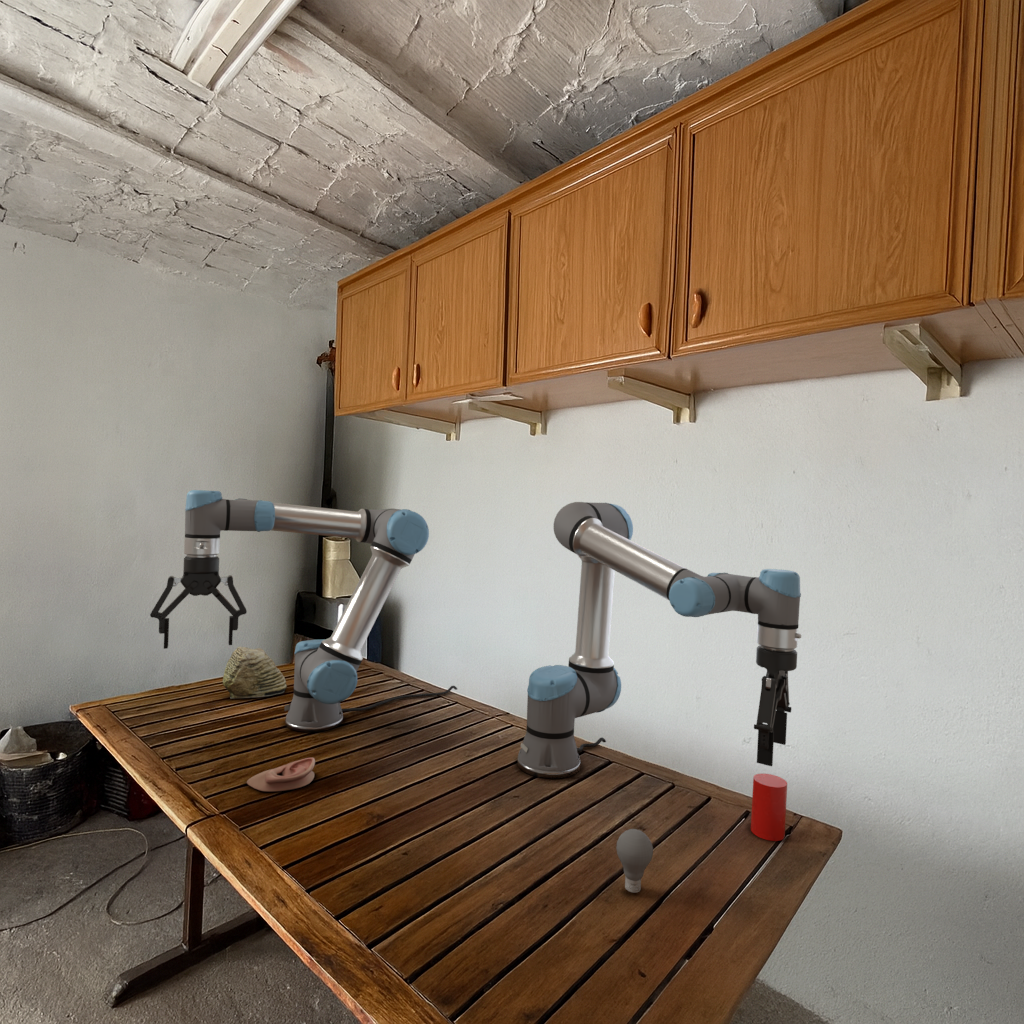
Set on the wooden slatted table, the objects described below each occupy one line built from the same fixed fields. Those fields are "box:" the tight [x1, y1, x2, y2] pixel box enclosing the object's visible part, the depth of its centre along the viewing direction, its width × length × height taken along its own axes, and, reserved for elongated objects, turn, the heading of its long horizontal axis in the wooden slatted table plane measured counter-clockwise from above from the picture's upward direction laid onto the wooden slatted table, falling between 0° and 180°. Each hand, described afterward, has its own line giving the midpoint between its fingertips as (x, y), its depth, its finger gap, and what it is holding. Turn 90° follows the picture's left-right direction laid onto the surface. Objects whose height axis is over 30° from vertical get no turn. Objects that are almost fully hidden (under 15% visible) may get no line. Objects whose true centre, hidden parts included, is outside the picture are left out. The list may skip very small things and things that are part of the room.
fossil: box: [222, 646, 288, 699], centre depth 198 cm, size 9×18×15 cm, turn 132°
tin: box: [750, 772, 788, 842], centre depth 127 cm, size 6×6×11 cm
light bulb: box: [615, 828, 654, 894], centre depth 106 cm, size 6×6×10 cm
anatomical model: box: [246, 757, 316, 792], centre depth 140 cm, size 13×4×12 cm
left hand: (198, 645), depth 149 cm, fingers open, 13 cm apart
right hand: (771, 753), depth 127 cm, fingers open, 13 cm apart
